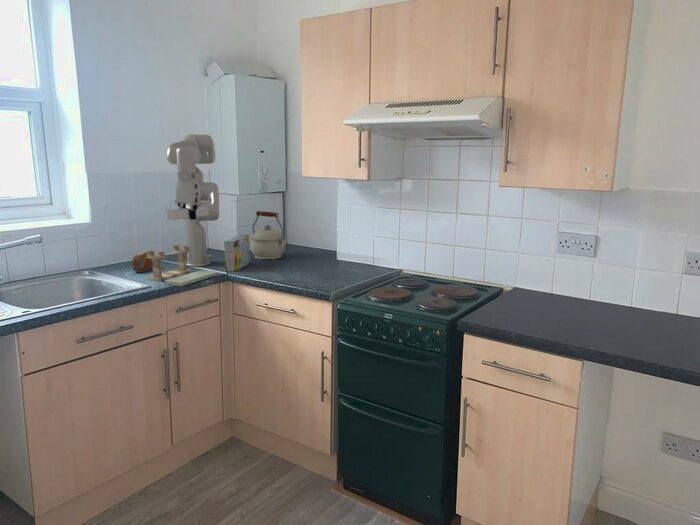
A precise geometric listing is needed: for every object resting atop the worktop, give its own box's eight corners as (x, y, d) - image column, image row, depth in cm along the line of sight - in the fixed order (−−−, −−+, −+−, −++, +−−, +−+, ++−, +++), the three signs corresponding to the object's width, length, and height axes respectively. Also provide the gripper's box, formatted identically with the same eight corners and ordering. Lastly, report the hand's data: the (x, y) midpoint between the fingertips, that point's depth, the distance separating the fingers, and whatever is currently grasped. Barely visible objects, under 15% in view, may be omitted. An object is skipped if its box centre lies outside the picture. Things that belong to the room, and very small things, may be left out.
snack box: (240, 262, 281) (239, 234, 278) (250, 263, 280) (249, 234, 277) (224, 271, 260) (223, 240, 257) (235, 272, 259) (234, 240, 256)
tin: (137, 273, 254) (136, 256, 252) (131, 273, 254) (130, 255, 253) (155, 267, 268) (154, 250, 267) (149, 267, 269) (148, 250, 267)
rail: (201, 214, 248) (201, 205, 248) (208, 214, 247) (208, 206, 246) (167, 219, 229) (166, 210, 228) (174, 220, 227) (174, 210, 226)
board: (201, 273, 256) (201, 270, 256) (217, 275, 252) (217, 271, 252) (165, 284, 234) (165, 280, 234) (181, 286, 231) (181, 282, 231)
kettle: (241, 257, 294) (240, 211, 289) (265, 252, 309) (264, 209, 304) (276, 263, 280) (275, 215, 275) (299, 257, 295) (298, 212, 290)
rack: (179, 271, 259) (178, 244, 256) (191, 273, 256) (189, 245, 253) (148, 280, 241) (146, 251, 238) (160, 281, 238) (158, 252, 235)
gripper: (208, 177, 234) (209, 219, 238) (177, 176, 241) (179, 217, 245) (196, 177, 228) (198, 221, 231) (165, 176, 234) (168, 218, 238)
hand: (188, 218), depth 238 cm, fingers closed on rail, 4 cm apart
